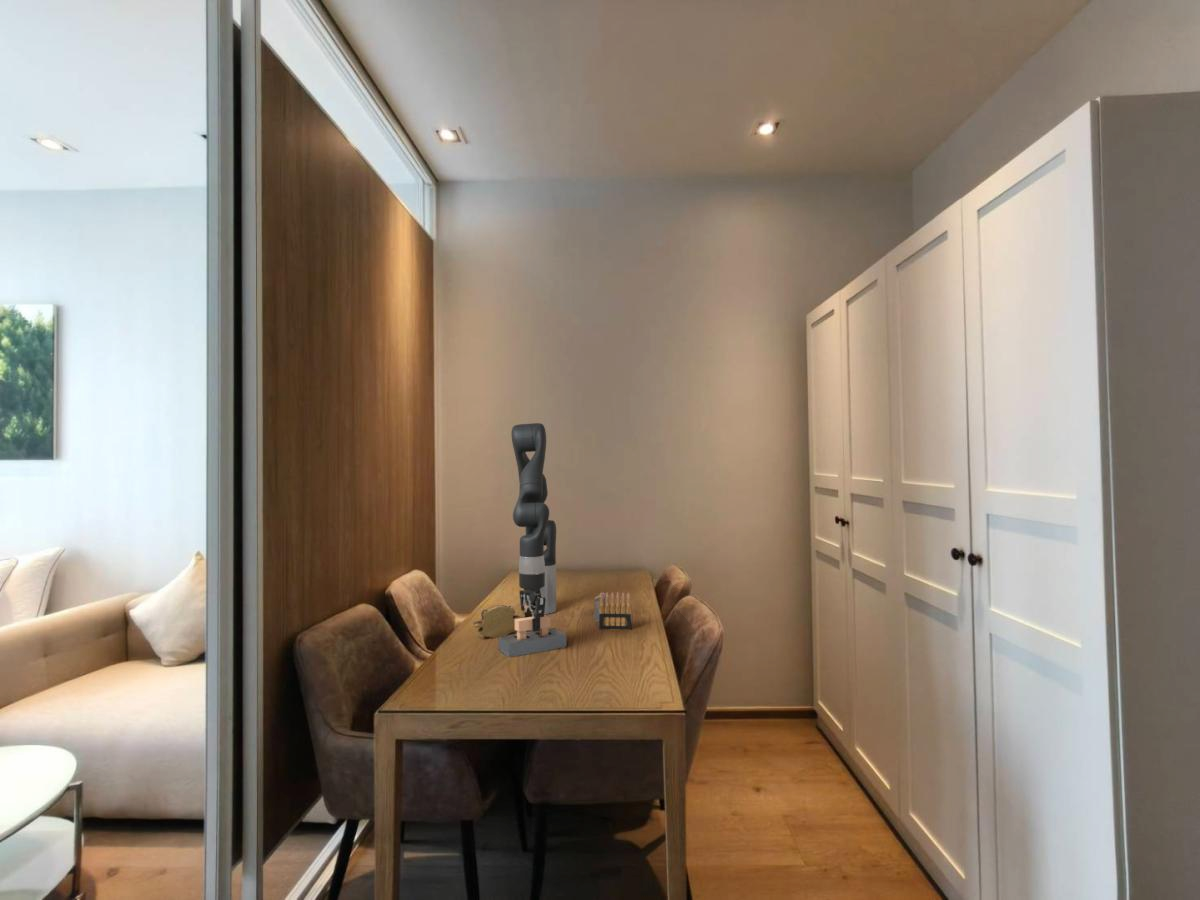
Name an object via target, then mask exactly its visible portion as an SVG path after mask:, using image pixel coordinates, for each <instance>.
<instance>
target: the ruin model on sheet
mask: <svg viewBox="0 0 1200 900" xmlns="http://www.w3.org/2000/svg"><path fill="white" fill-rule="evenodd" d="M602 593H603V598H604V612H605V597H606V593H607V592H602ZM600 594H601V592H600V593H599V594H598V595H597V596H595V597H594V601H593V602H594V603H593V605H594V606H593V607H594V621H595V620H599V605H600Z"/></svg>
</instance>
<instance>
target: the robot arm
mask: <svg viewBox="0 0 1200 900" xmlns="http://www.w3.org/2000/svg"><path fill="white" fill-rule="evenodd" d="M511 442H512V448H513V451H514V456H515V461H516V465H517V471H518V480H519V493H518V497H517V501H516V503H515V505H514V509H513V512H512V513H513V514H512V520H513V524H515V525H516V527H520V528H525V534H524V535H521V537H520V539H519V562H518V583H519V584H518V586H519V588H520V589H523V590H519V602H520V610H521V611H522V612H523V615H524V618H526V617H532V618H533V619H532V630H531V631H534V632H536V631H540V618H541V617H544V615H549V613H550V614H554V613H556V612H557V560H556V558H557V557H556V553H557V552H556V550H557V545H556V544H557V524H556V522H555V520H552V519H551V520H550V519H549V518H550V508H549V506H548V505H547V504H546V503H545V502H546V500H547V498H548V485H547V479H546V477H545V474H544V473H543V472H544V466H545V460H546V459H545V458H546V451H547V432H546V428H545V426H544V424H543V423H540V422H539V423H538V422H535V423H533V422H532V423H519V424H515V425H514V426H512V428H511ZM530 452H532V453H533V452H534V454H533V456H532V458H531V459H529V456H528V455H527V453H530ZM544 546H546V549H544ZM553 612H554V613H553Z"/></svg>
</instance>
